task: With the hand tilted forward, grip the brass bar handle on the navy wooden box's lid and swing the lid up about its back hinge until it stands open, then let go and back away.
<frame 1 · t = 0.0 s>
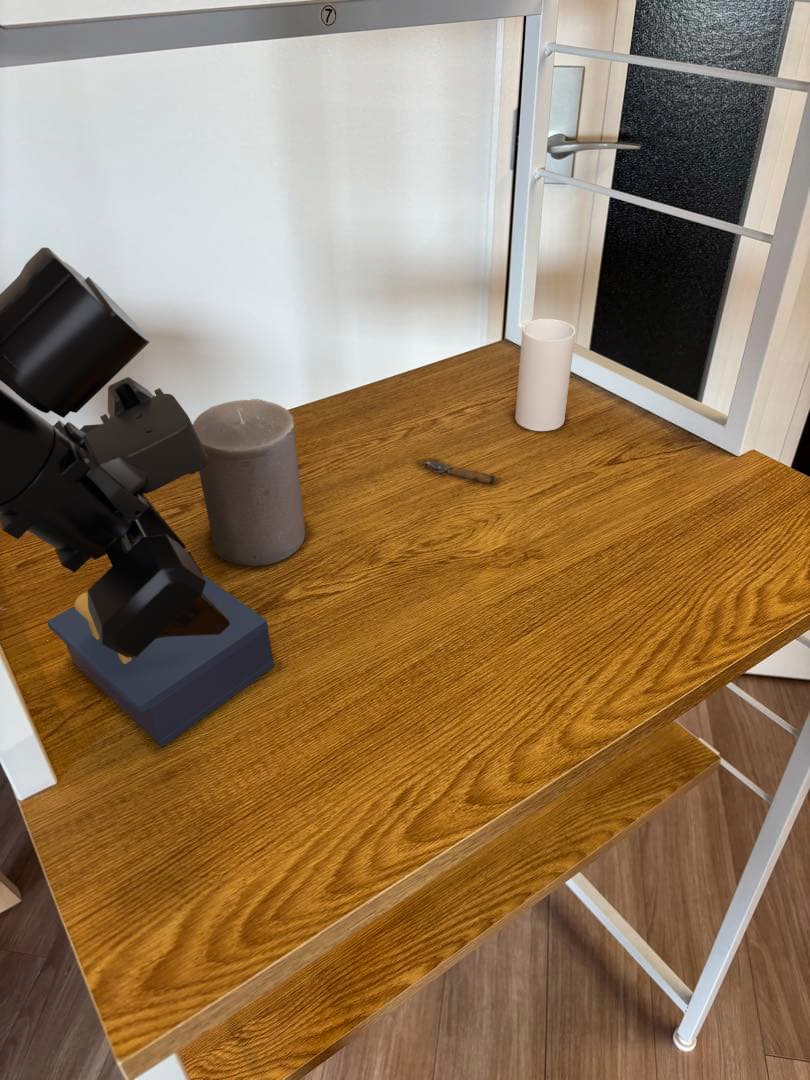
hand: (201, 587, 58), 15 cm above the table, tool tilted 35°, fingers open, 9 cm apart
lid: (152, 605, 68), point 7 cm above the table, hinge at 0.0°
pillar candle: (260, 538, 87), on the table
chest: (173, 664, 73), on the table
cup: (539, 420, 105), on the table
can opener: (457, 476, 96), on the table
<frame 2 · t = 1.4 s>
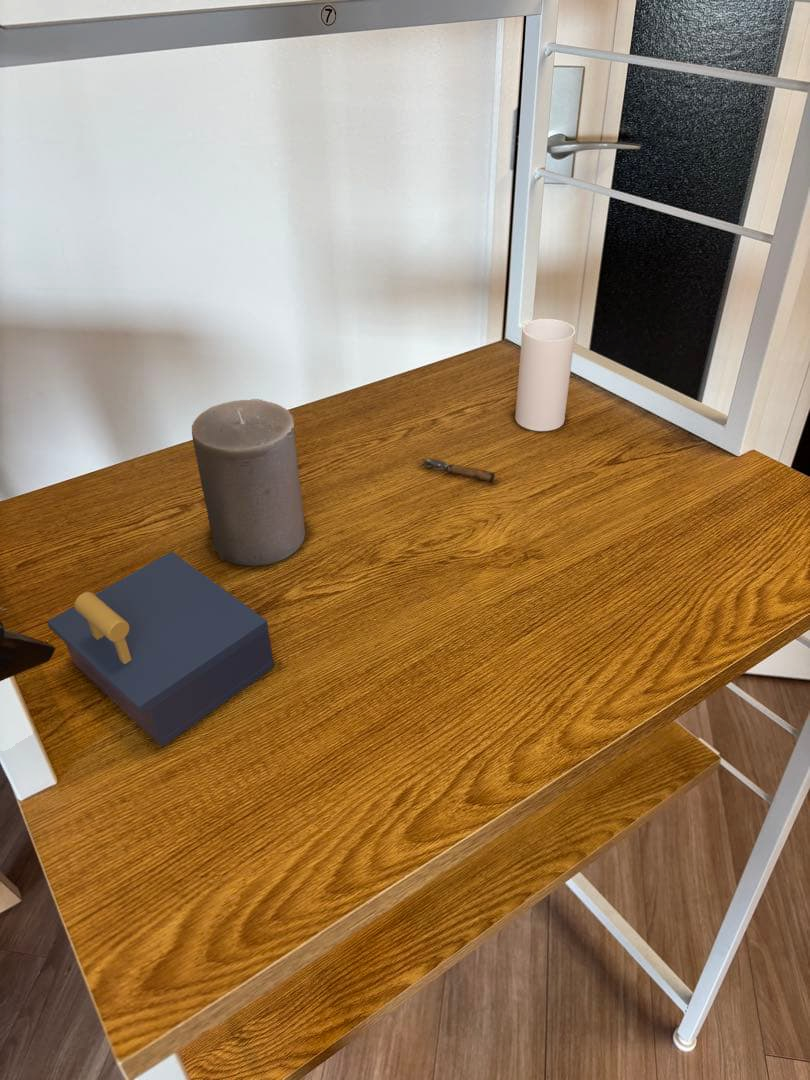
hand: (19, 621, 59), 13 cm above the table, tool tilted 45°, fingers open, 9 cm apart
nothing on the table moved.
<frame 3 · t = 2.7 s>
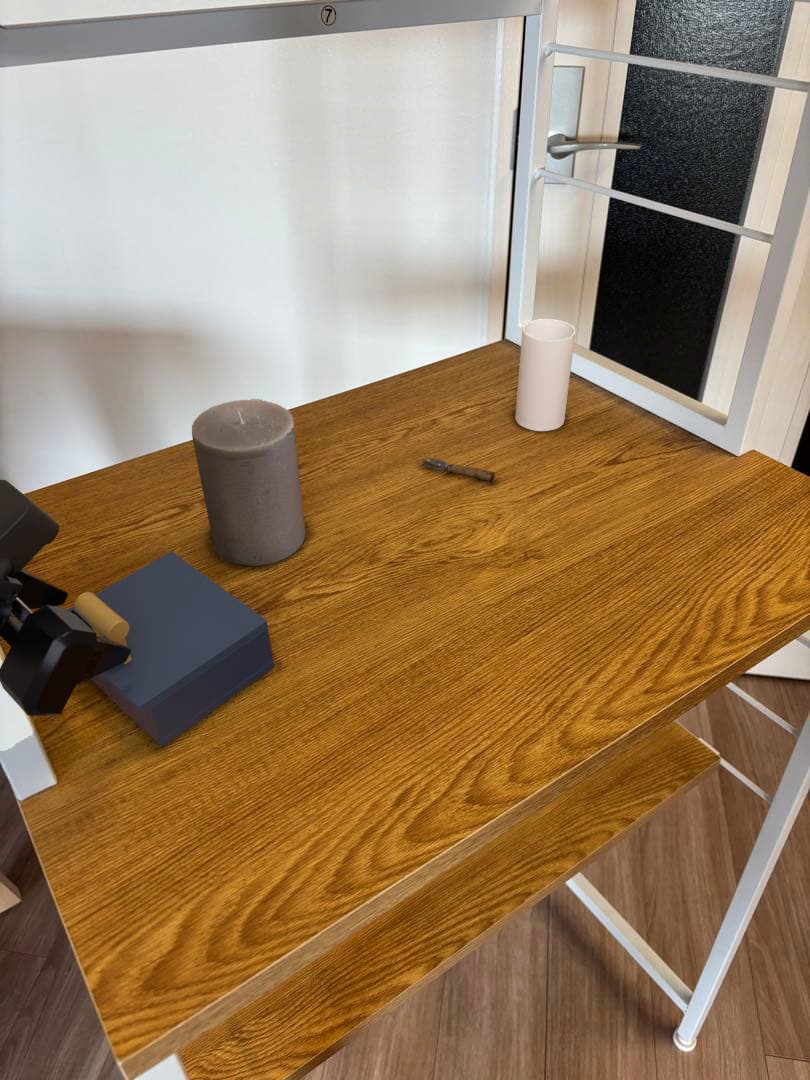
hand: (95, 625, 64), 9 cm above the table, tool tilted 45°, fingers open, 9 cm apart
nothing on the table moved.
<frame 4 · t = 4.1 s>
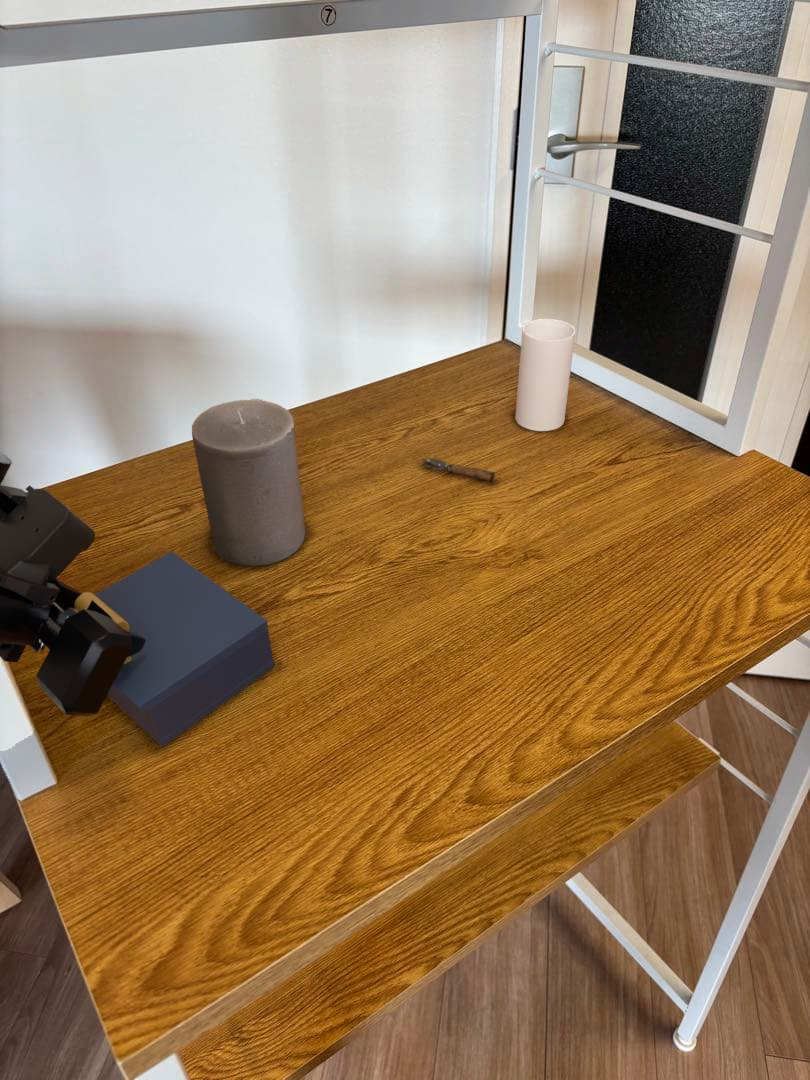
hand: (124, 628, 67), 7 cm above the table, tool tilted 45°, fingers closed on lid, 5 cm apart
lid: (152, 605, 68), point 7 cm above the table, hinge at 0.0°, touching gripper
everything else where it was.
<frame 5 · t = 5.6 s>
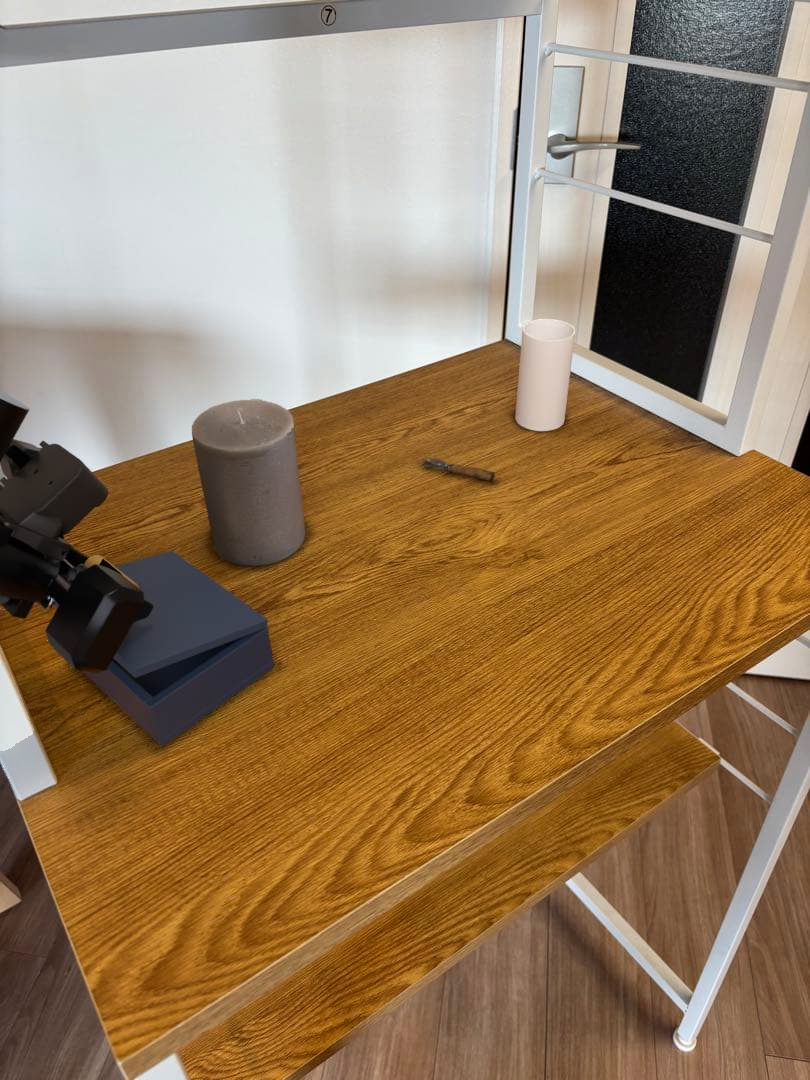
hand: (131, 595, 66), 10 cm above the table, tool tilted 45°, fingers closed on lid, 5 cm apart
lid: (157, 583, 67), point 9 cm above the table, hinge at 16.9°, touching gripper
everything else where it was.
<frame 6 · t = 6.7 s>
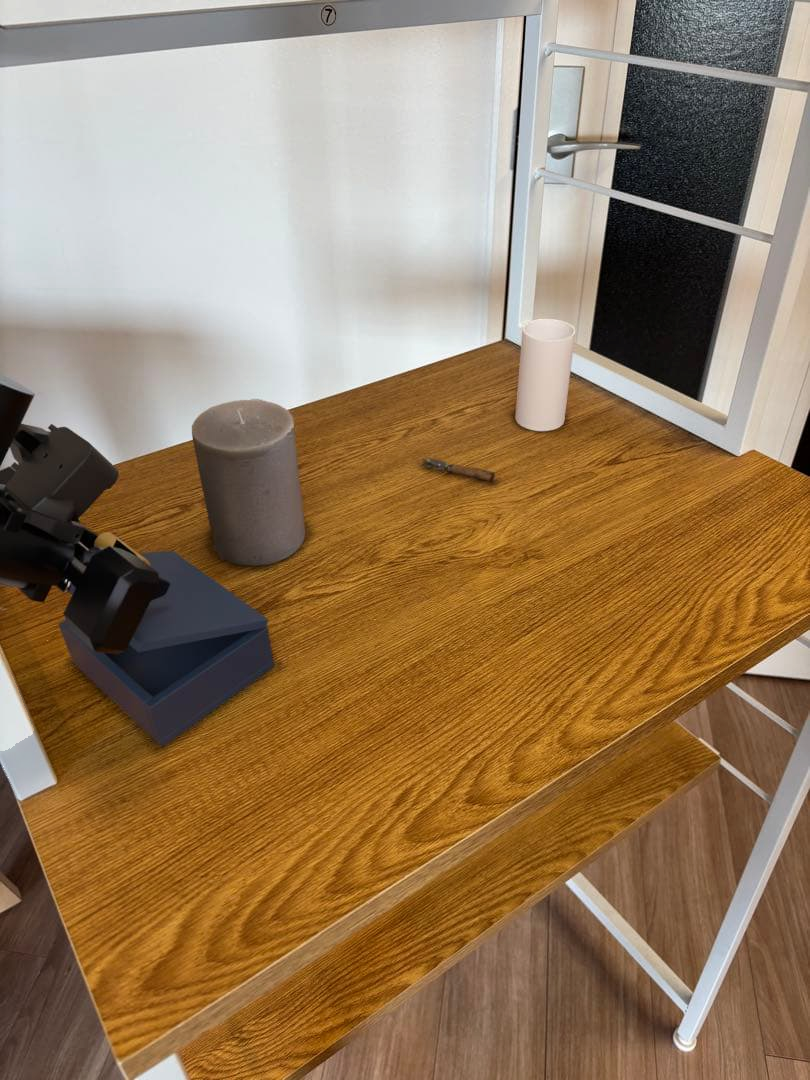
hand: (148, 573, 66), 11 cm above the table, tool tilted 45°, fingers closed on lid, 5 cm apart
lid: (163, 571, 67), point 10 cm above the table, hinge at 27.1°, touching gripper
everything else where it was.
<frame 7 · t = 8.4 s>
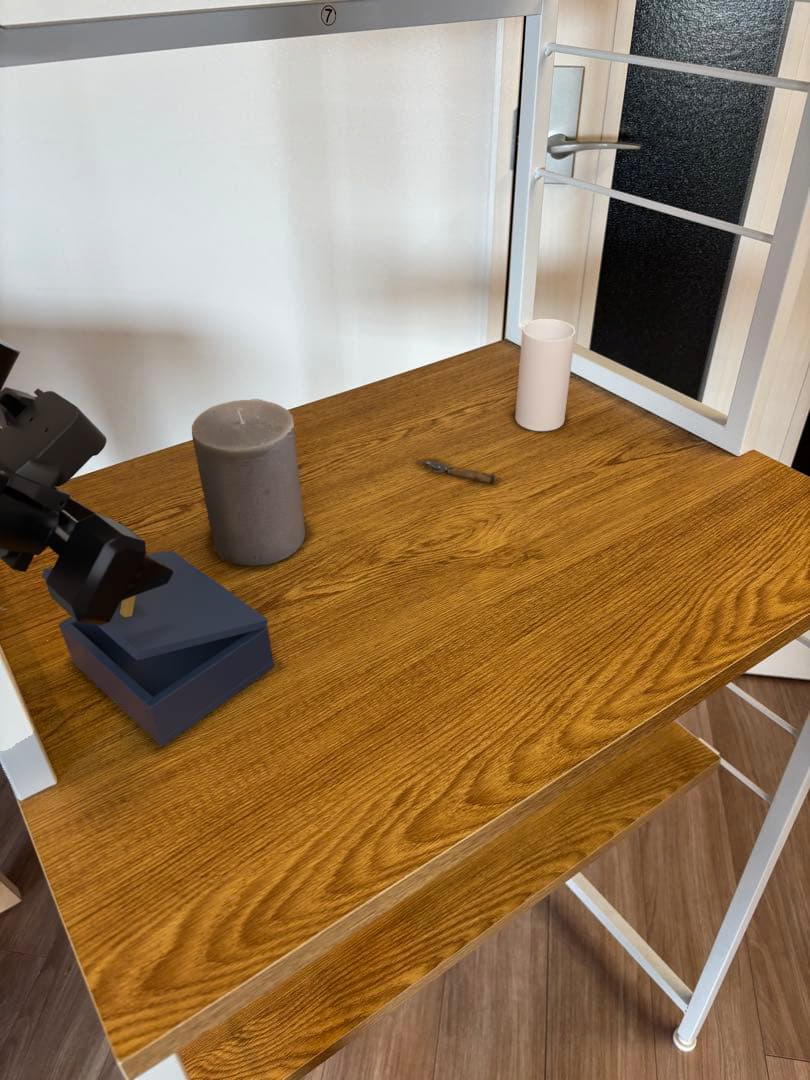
hand: (135, 550, 64), 13 cm above the table, tool tilted 45°, fingers open, 9 cm apart
lid: (161, 574, 67), point 10 cm above the table, hinge at 23.9°
everything else where it was.
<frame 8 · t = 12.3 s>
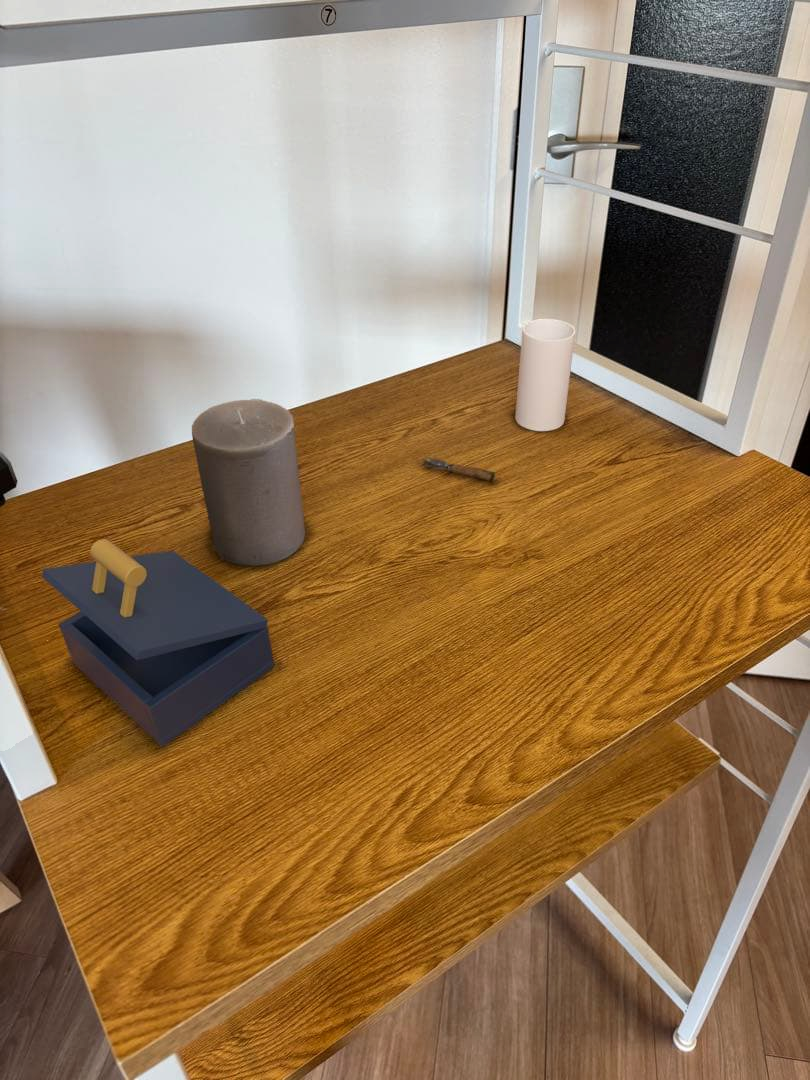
nothing on the table moved.
at the end: lid at +24° (first picture: +0°); cup moved 0.2 cm from its start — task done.
